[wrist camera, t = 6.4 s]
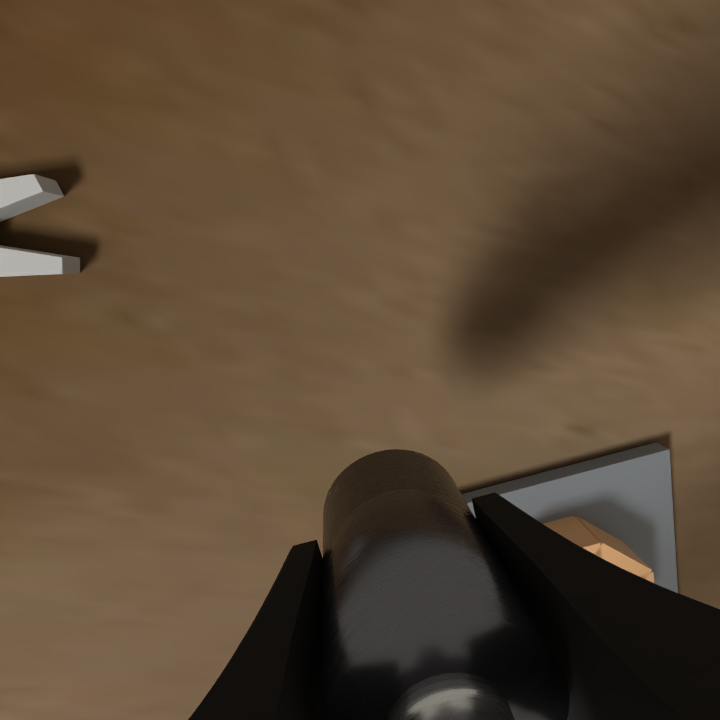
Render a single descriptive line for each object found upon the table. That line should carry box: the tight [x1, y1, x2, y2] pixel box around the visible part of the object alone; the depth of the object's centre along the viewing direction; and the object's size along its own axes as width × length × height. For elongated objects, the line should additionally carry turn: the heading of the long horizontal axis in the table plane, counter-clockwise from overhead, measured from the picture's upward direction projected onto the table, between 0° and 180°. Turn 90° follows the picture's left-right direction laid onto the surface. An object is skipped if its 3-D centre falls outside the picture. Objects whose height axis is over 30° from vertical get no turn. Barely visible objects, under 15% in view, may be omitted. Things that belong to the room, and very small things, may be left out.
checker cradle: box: [462, 442, 678, 593], centre depth 20 cm, size 13×12×3 cm
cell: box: [321, 449, 570, 720], centre depth 9 cm, size 4×4×6 cm
